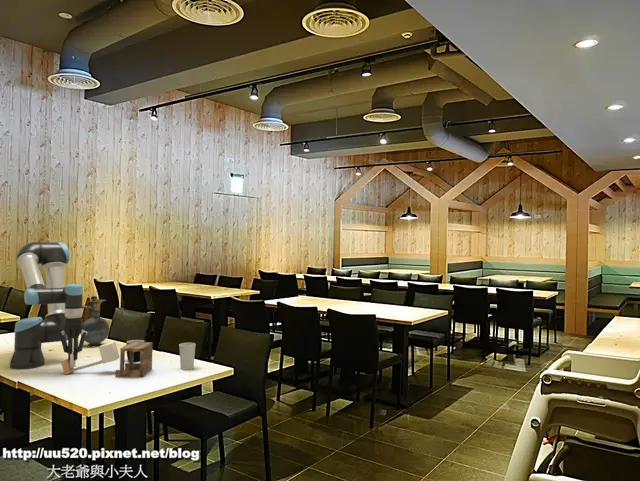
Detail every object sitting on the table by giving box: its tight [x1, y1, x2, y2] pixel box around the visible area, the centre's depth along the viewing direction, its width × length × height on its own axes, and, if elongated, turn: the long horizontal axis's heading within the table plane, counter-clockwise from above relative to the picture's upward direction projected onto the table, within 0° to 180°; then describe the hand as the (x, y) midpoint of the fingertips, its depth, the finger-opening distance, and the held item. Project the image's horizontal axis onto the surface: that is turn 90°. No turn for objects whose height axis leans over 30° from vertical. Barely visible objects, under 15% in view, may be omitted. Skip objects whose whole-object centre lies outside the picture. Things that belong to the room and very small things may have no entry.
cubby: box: [114, 341, 153, 378], centre depth 240 cm, size 12×15×13 cm
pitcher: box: [80, 295, 110, 348], centre depth 301 cm, size 11×19×30 cm, turn 140°
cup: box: [178, 342, 197, 371], centre depth 251 cm, size 8×8×12 cm
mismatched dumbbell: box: [60, 341, 120, 375], centre depth 239 cm, size 24×6×8 cm, turn 96°
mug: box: [125, 339, 145, 363], centre depth 266 cm, size 12×9×10 cm
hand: (72, 367), depth 238 cm, fingers closed
